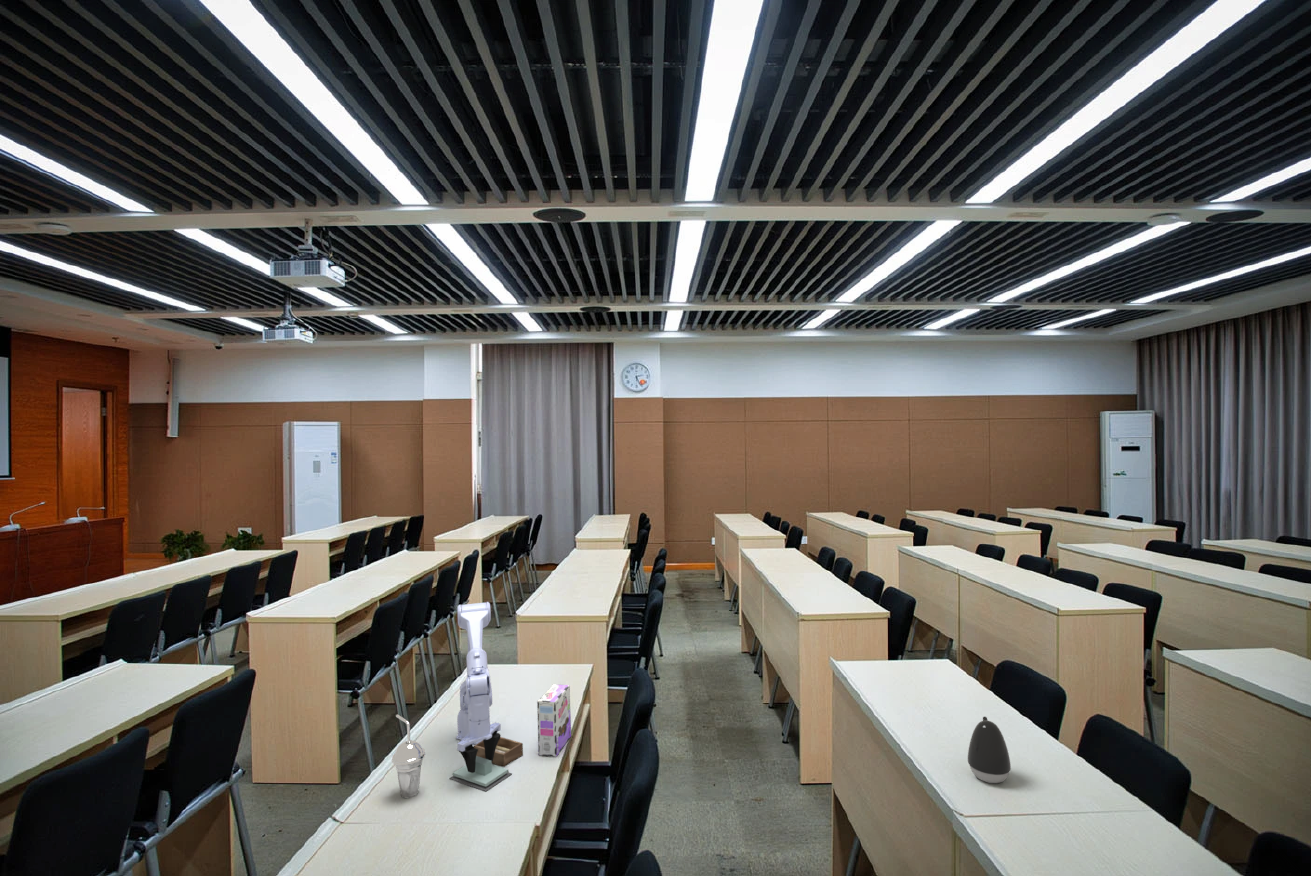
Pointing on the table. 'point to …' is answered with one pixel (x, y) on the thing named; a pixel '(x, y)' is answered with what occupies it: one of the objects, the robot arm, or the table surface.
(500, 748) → the chalk box
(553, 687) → the candy box
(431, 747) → the table surface
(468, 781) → the mat
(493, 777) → the lid
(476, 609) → the robot arm
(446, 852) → the table surface
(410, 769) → the cup with straw
